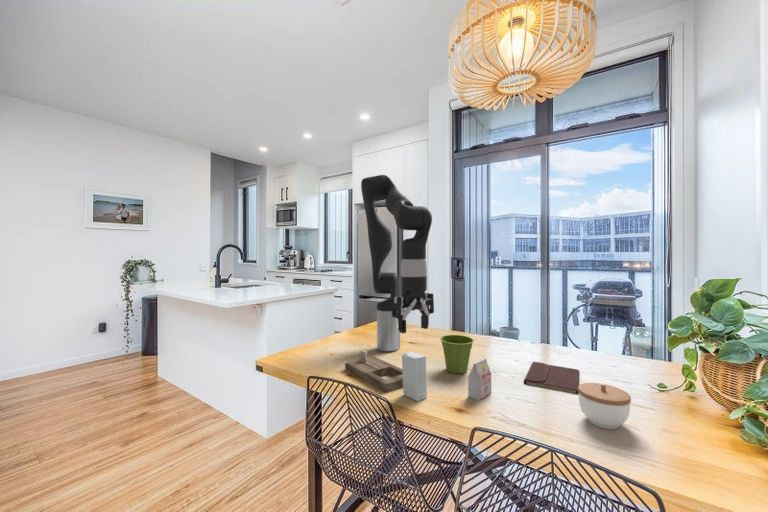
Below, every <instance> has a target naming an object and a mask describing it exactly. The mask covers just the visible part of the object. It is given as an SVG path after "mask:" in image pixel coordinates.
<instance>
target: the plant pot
mask: <svg viewBox="0 0 768 512" xmlns="http://www.w3.org/2000/svg"><path fill="white" fill-rule="evenodd" d="M439 340H440V341H441V346H442V348H443V356H444V362H445V369H446V371H447V372H450V373H452V374H465V373H467V372H468V368H469V367H468V366H469V362H470V356H471V350H472V348H473V343H474V342H475V340H474V338H472V337H470V336H467V335H461V334H446V335H442V336H440V337H439Z"/></svg>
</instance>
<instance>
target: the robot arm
mask: <svg viewBox="0 0 768 512" xmlns="http://www.w3.org/2000/svg"><path fill="white" fill-rule="evenodd" d="M360 190H361V195H362V200H363V205H364V210H365V211H364V213H365V216H366V217H365V218H366V226H367V237H368V245H369V251H370V257H371V265H372V266H371V268H372V269H371V270H372V285H373V290H374V292H375V293H376V294H381V295H382V294H383V295H386V294H387V295H390V296H389V297H388V298H386V299H385V300H382V301H381V300H380V301H378V303H376V350H377V349H378V350H377V351H379V350H380V351H379V352H382V351H393V352H395V351H394V350H397V349H398V348H400V349H401V334H406V333H407V320H406V318H407V316H408V315H409V314H411V311H416V310H418V311H419V312H420V314H421V316H420V328H421V329H424V330H427V329H428V328H429V324H430V323H429V320H430V319H429V317H430V315H431V314H434V312H435V306H434V305H435V304H434V303H435V301H434V300H435V299H434V293H429V292H426V291H427V290H428V288H427V286H428V284H427V283H428V280H427V279H428V277H427V274H428V273H427V271H428V268H427V267H428V265H427V260H426V259H427V242H428V238H429V234H430V230H431V227H432V222H433V216H432V215H433V214H432V212H431V210H430V209H429V208H428V207H426V206H422V205H421V206H420V205H414V203H413V202H412V201H411V200H410V199H409V198H408V197H406V196H405V195H404V194H402V193H401V192H400V190H399V189H398V187H397V186H396V184H395V183H394V182H393V180H392V178H390V177H389V176H388V175H386V174H378V175H374V176H373V175H372V176H368V177H364V178H362V180H361V183H360ZM382 201H385V208H386V209H387V211H388V212H389V213H390V215H392V216H393V218H394V220H395V225H396V226H397V228H398V229H401V230H403V231H415V234H414V236H413V237H410V238H405V239H404V240H402V242H401V262H400V263H401V264H400V280H399V275H398V273H397V272H382V271H381V268H382V266H383V264H384V262H385V260H386V259H387V258H388V256H389V254H390V252H391V251H392V248H393V241H392V240H393V239H392V232H391V229H390V227H389V226H388V225H387V223H386V222H385V220H383V219H382V218H381V217H380V215H379V213H378V212H377V211H376V208H375V203H376V202H382ZM399 282H400V283H399ZM399 284H400V291H401V293H402V294H401V296H399ZM398 350H399V349H398ZM398 350H397V351H398Z"/></svg>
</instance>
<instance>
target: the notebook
mask: <svg viewBox="0 0 768 512" xmlns="http://www.w3.org/2000/svg"><path fill="white" fill-rule="evenodd" d="M525 382H526V383H527V384H526V383H525ZM524 383H525V384H526V385H530V384H531V385H532V386H534V387H535V386H536V387H540V388H541V387H542V388H546V389H552V390H557V391H562V392H567V393H572V394H577V395H579V392H578V386H579V385H580V370H579V369H578V368H576V369H575V368H572V367H571V368H570V367H566V366H565V367H564V366H560V365H553V364H547V363H543V362H539V361H532V363H531V365H530V367H529V369H528V371H527V373H526V376H525V378H524V380H523V384H524ZM531 385H530V386H531Z"/></svg>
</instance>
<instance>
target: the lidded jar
mask: <svg viewBox="0 0 768 512" xmlns="http://www.w3.org/2000/svg"><path fill="white" fill-rule="evenodd" d="M578 392H579V394H578V402H579V407H580V409H581V411H582V413H583V414H584V416H585V417H586V418H587V419H588V421H589V422H590V423H591V424H592V425H594V426H596V427H598V428H602V429H605V430H606V429H607V430H616V429H619V427H620V426H622V425H623V424H624V423H625V422H627V420H628V418H629V416H630V410H631V402H632V398H631V395H630V394H629V393H628V391H627V392H626V391H625V390H623V389H621V388H618V387H616V386H613V385H609V384H606V383H599V382H584V383H579V386H578Z"/></svg>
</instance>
